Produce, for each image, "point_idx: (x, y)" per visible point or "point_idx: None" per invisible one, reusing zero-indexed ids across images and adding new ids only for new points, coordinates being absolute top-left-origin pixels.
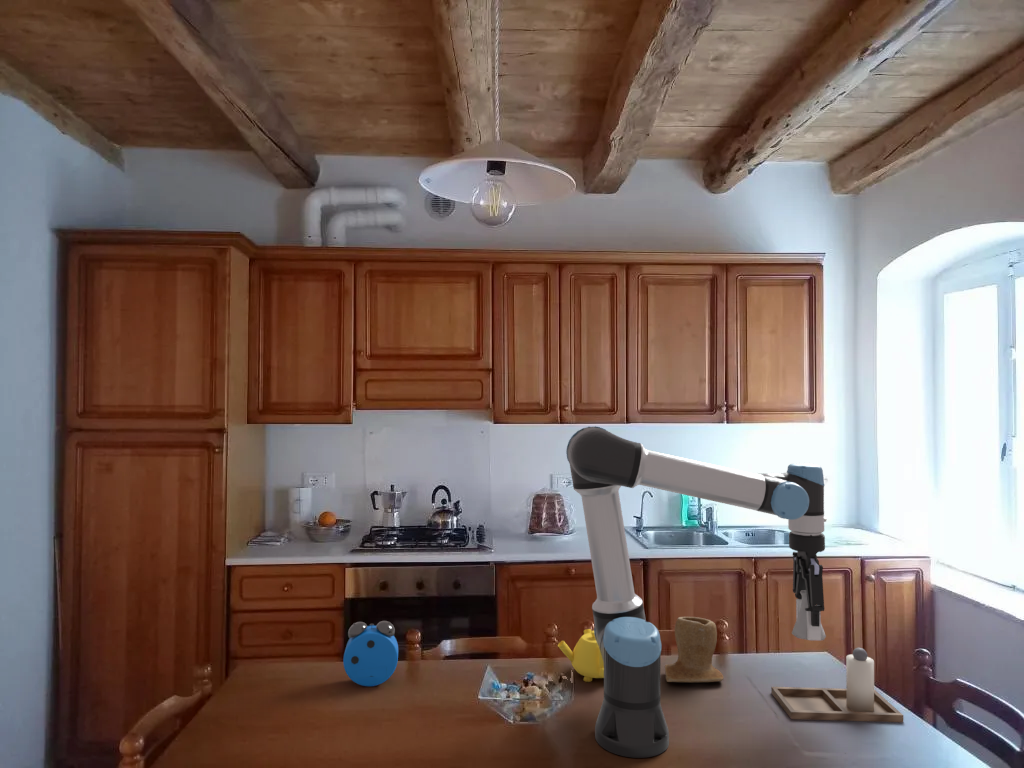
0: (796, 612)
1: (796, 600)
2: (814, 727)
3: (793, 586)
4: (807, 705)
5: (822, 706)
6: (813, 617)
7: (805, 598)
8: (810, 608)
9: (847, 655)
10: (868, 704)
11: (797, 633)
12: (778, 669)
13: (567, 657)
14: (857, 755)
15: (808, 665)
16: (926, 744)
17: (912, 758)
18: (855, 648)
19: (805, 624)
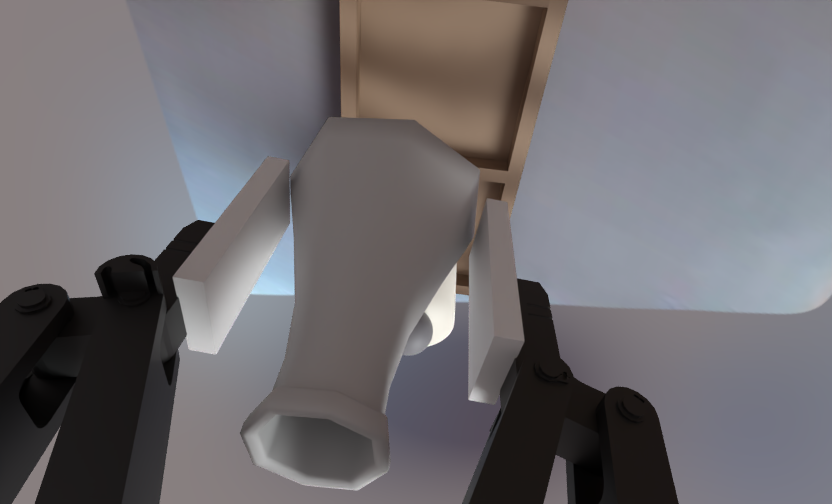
0: (510, 260)
1: (512, 331)
2: (320, 30)
3: (643, 448)
4: (446, 78)
5: (437, 124)
6: (157, 264)
7: (287, 373)
8: (105, 298)
9: (445, 301)
10: None
11: (336, 134)
12: (772, 132)
13: None
14: (168, 72)
15: (748, 241)
16: None
17: (193, 195)
18: (419, 338)
19: (306, 211)
